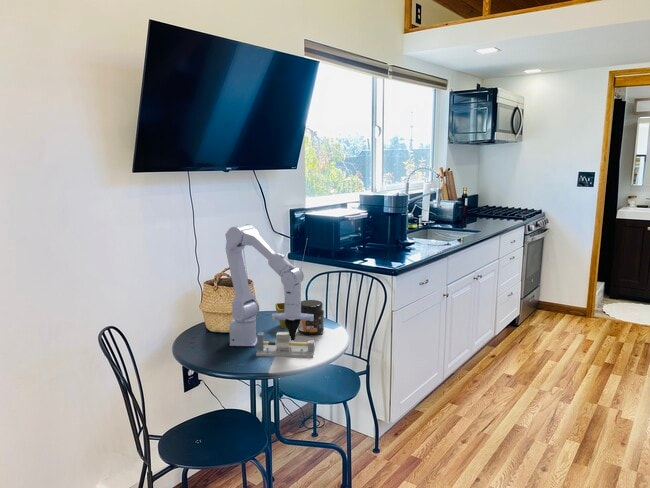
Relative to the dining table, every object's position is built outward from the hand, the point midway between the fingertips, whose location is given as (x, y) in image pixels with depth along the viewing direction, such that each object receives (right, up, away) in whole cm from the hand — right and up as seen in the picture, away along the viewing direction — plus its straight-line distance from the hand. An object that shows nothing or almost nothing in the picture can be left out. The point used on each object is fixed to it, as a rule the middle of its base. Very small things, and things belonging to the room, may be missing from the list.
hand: (293, 339), depth 174 cm
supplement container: (+6, -1, +21) cm, 22 cm away
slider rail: (-2, -5, +1) cm, 5 cm away
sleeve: (-3, -3, +1) cm, 5 cm away
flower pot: (-4, 0, +28) cm, 28 cm away
